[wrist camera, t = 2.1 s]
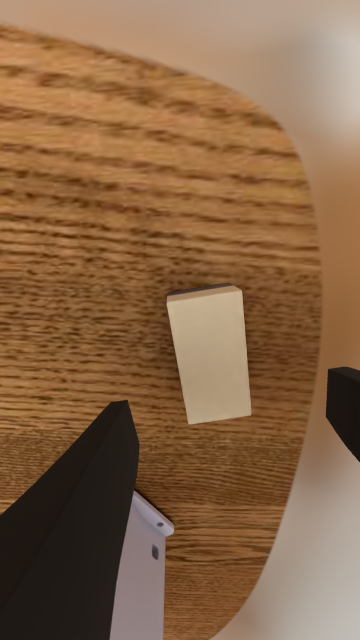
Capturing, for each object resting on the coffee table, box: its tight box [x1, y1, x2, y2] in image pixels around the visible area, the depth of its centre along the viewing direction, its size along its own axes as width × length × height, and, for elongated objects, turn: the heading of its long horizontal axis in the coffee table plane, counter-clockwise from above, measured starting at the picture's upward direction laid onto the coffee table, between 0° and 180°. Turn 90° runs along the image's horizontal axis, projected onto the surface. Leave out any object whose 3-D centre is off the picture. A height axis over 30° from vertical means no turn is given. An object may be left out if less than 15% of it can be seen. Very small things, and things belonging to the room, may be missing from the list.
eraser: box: [167, 283, 251, 424], centre depth 13 cm, size 7×4×2 cm, turn 9°
